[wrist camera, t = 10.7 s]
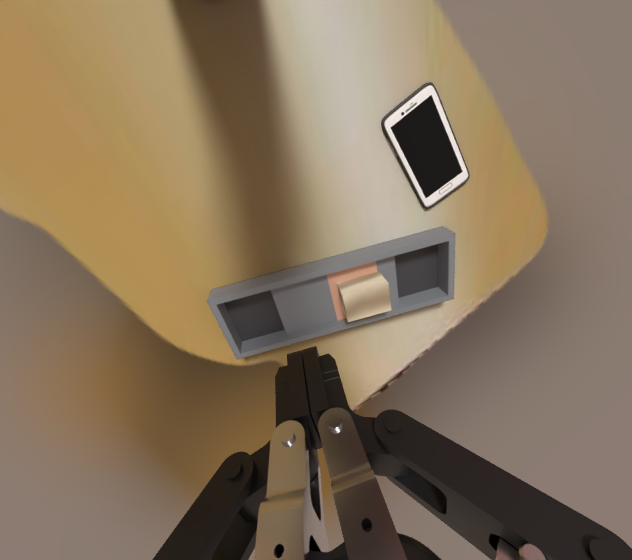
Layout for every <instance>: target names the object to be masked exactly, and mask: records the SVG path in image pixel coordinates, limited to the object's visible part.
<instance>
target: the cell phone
mask: <svg viewBox="0 0 632 560" xmlns="http://www.w3.org/2000/svg"><path fill="white" fill-rule="evenodd" d="M381 125H382V128H383V130H384V132H385V134H386V137H387V139H389V140H390V142H391V144H392V146H393V148H394V150H395V152H396V154H397V158H398V160H399V162H400V164H401V166H402V168H403V169H404V171H405V173H406V175H407V177H408V179H409V181H410V183H411V185H412V187H413V189H414V191H415V193H416V194H417V196H418V198H419V200H420V202H421V204H422V205H423V207H425V208H431V207H432V206H434V205H435V204H437V203H438V202H439V201H441V200H442V199H444V198H445V197H446V196H448V195H449V194H450V193H452V192H453V191H455V190H456V189H457V188H459V187H460V186H461V185H463V184H464V183H465V182H467V181H468V179H469V176H470V175H469V171H468V168H467V166H466V163H465V161H464V158H463V156H462V153H461V151H460V148H459V145H458V143H457V140H456V138H455V135H454V133H453V130H452V128H451V125H450V123H449V120H448V117H447V115H446V112H445V110H444V107H443V105H442V102H441V100H440V97H439V94H438V92H437V90H436V88H435V86H434V85H433V83H431V82H429V83H426V84H424V85H422V86H421V87H420V88H418V89H417V90H416V91H415V92H414V93H412V94H411V95H410V96H409V97H407V98H406V99H405V100H404V101H403V102H401V103H400V104H399V105H398V106H396V107H395V108H394V109H393V110H391V111H390V112H389V113H388V114H387V115H386V116H385V117H384V118H383V119H382V121H381Z"/></svg>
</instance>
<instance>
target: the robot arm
mask: <svg viewBox="0 0 632 560" xmlns="http://www.w3.org/2000/svg"><path fill="white" fill-rule="evenodd" d="M287 363H288V365H287V366H283V367H280V368H279V370H278V372H277V374H276V377H275V386H276V429H275V430H274V432H273V434H272V436H271V440H270V441H269V442H268V443H267V444H266V445H265V446H264V447H262V448H261V449H259V450H258V451H256V452H254V453H253V454H251V455H249V454H248V453H245V452H237V453H234V454H233V455H231V456H229V457H228V458H227V459H226V460H225V461H224V462H223V463H222V465H221V466H220V467H219V469H218V470H217V471H216V473H215V474H214V476H213V477H212V478H211V480H210V481H209V482H208V484H207V485H206V487H205V488H204V489H203V491H202V492H201V494H200V495H199V496H198V498H197V499H196V501H195V502H194V503H193V505H192V506H191V507H190V509H189V510H188V511H187V513H186V514H185V516H184V517H183V519H182V520H181V521H180V522H179V524H178V525H177V527H176V528H175V529H174V531H173V532H172V534H171V535H170V536H169V538H168V539H167V540H166V542H165V543H164V544H163V546H162V547H161V549H160V550H159V551H158V553H157V554H156V556H155V557H154V558H153V560H248V559H249V557H250V555H251V553H252V552H253V550H254V548H255V555H254V560H441V559H440V558H439V557H438V556H437V555H436V554H435V553H434V552H432V551H431V550H430V549H429V548H428V547H426V546H425V545H424V544H422V543H421V542H419V541H417V540H415V539H413V538H411V537H409V536H406V535H403V534H399V533H397V532H396V529H395V526H394V524H393V521H392V518H391V516H390V513H389V510H388V508H387V505H386V503H385V500H384V497H383V495H382V492H381V490H380V487H379V484H378V482H377V479H376V477H375V475H380V476H386V477H387V478H388V479H389V480H390V481H392V482H393V483H394V484H395V485H397V486H398V487H399V488H400V489H402V490H403V491H404V492H405V493H407V494H408V495H409V496H411V497H412V498H413V499H414V500H416V501H417V502H418V503H420V504H421V505H422V506H424V507H425V508H426V509H427V510H429V511H430V512H431V513H432V514H434V515H435V516H436V517H438V518H439V519H440V520H441V521H443V522H444V523H445V524H447V525H448V526H449V527H450V528H452V529H453V530H454V531H456V532H457V533H458V534H459V535H461V536H462V537H463V538H465V539H466V540H467V541H468V542H470V543H471V544H472V545H474V546H475V547H476V548H477V549H479V550H480V551H481V552H483V553H484V554H485V555H486V556H488V557H489V558H490V559H492V560H632V549H631V548H630V547H629V546H628V545H627V544H626V543H625V542H624V541H623V540H622V539H621V538H620V537H618V536H617V535H616V534H614V533H613V532H611V531H610V530H608V529H606V528H605V527H603V526H601V525H599V524H598V523H596V522H594V521H592V520H591V519H589V518H587V517H585V516H584V515H582V514H580V513H578V512H576V511H575V510H573V509H571V508H569V507H568V506H566V505H564V504H562V503H560V502H559V501H557V500H555V499H554V498H552V497H550V496H548V495H547V494H545V493H543V492H541V491H539V490H538V489H536V488H534V487H532V486H531V485H529V484H527V483H526V482H524V481H522V480H520V479H518V478H516V477H515V476H513V475H511V474H510V473H508V472H506V471H504V470H503V469H501V468H499V467H497V466H496V465H494V464H492V463H490V462H489V461H487V460H485V459H483V458H481V457H480V456H478V455H476V454H475V453H473V452H471V451H469V450H467V449H466V448H464V447H462V446H460V445H459V444H456V443H455V442H453V441H452V440H450V439H448V438H446V437H444V436H443V435H441V434H439V433H437V432H436V431H434V430H432V429H431V428H429V427H427V426H425V425H424V424H422V423H420V422H418V421H416V420H415V419H413V418H411V417H409V416H408V415H406V414H404V413H402V412H400V411H397V410H386V411H383V412H381V413H380V414H379V415H378V416H377V418H371V417H362V416H359V415H357V414H355V413H354V412H353V411H352V410H351V409H350V408H349V406H348V403H347V400H346V396H345V393H344V389H343V386H342V382H341V379H340V375H339V372H338V368H337V365H336V362H335V359H334V358H333V357H332V356H331V355H330V354H326V355H322V356H319V354H318V350H317V347H316V346H315V347H311V348H308V349H304V350H302V351H297V352H294V353H290V354H287ZM321 441H322V442H321ZM322 446H323V449H324V454H325V458H326V462H327V465H328V470H329V474H330V478H331V483H332V484H331V486H332V492H333V496H334V500H335V505H336V509H337V513H338V517H339V521H340V525H341V529H342V534H343V538H344V543H342V544H341V545H339V546H338V547H336V548H335V549H334V550H332V551H330V552H329V546H328V540H327V535H326V530H325V525H324V515H323V502H322V488H321V476H320V467H319V461H318V454H317V449H319V448H322Z"/></svg>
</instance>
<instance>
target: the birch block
mask: <svg viewBox="0 0 632 560" xmlns="http://www.w3.org/2000/svg"><path fill="white" fill-rule="evenodd" d="M337 287H338V291H339V296H340V301H341V305H342V309H343V311H344V314H345V316H346V319H347V321H348V322H351V321H355V320H358V319H362V318H366V317H369V316H373V315H376V314H380V313H384V312H387V311H391V301H390V292H389V283H388V282H387V281H386V279H385V278H384V277H383V276H382V274H381V273H380V272H375V273H371V274H368V275H364V276H360V277H357V278H353V279H349V280H346V281H342V282H338V283H337Z"/></svg>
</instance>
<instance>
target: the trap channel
mask: <svg viewBox="0 0 632 560" xmlns="http://www.w3.org/2000/svg"><path fill="white" fill-rule="evenodd" d="M375 272H380V273H381V274H382V276H383V277H384V278H385V279H386V281H387V282H388V283H389V292H390V301H391V311H387V312H384V313H380V314H376V315H373V316H369V317H366V318H362V319H358V320H355V321H351V322H348V321H347V319H346V316H345V314H344V311H343V309H342V305H341V301H340V296H339V291H338V287H337V283H338V282H342V281H346V280H349V279H353V278H357V277H360V276H364V275H368V274H371V273H375ZM454 272H455V233H454V232H453V231H451V230H449V229H447V228H445V227H443V226H442V227H438V228H434V229H431V230H427V231H423V232H420V233H416V234H413V235H409V236H405V237H402V238H398V239H394V240H391V241H387V242H383V243H380V244H376V245H372V246H369V247H365V248H361V249H358V250H354V251H350V252H347V253H343V254H339V255H336V256H332V257H329V258H325V259H321V260H318V261H314V262H310V263H307V264H303V265H299V266H296V267H292V268H288V269H285V270H281V271H277V272H274V273H270V274H266V275H263V276H259V277H255V278H252V279H248V280H245V281H241V282H237V283H234V284H230V285H226V286H223V287H219V288H215V289H212V290H211V292H210V295H209V297H208V300H207V302H208V304H209V306H210V308H211V310H212V312H213V314H214V316H215V318H216V320H217V322H218V324H219V326H220V328H221V330H222V332H223V334H224V336H225V338H226V340H227V342H228V343H229V345H230V347H231V349H232V351H233V353H234V355H235V357H236V359H241V358H245V357H248V356H252V355H255V354H259V353H262V352H266V351H270V350H273V349H277V348H280V347H284V346H287V345H291V344H295V343H298V342H302V341H305V340H309V339H312V338H316V337H320V336H323V335H327V334H330V333H334V332H337V331H341V330H345V329H348V328H352V327H355V326H359V325H362V324H366V323H370V322H373V321H377V320H380V319H384V318H387V317H391V316H395V315H398V314H402V313H405V312H409V311H412V310H416V309H420V308H423V307H427V306H430V305H434V304H437V303H441V302H445V301H448V300H452V299H454Z"/></svg>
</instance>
